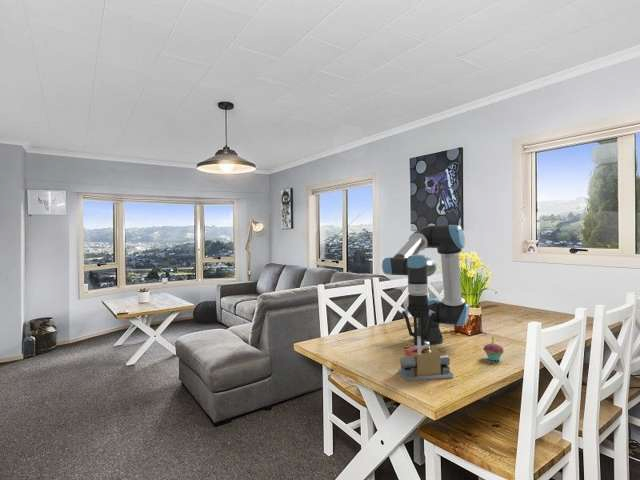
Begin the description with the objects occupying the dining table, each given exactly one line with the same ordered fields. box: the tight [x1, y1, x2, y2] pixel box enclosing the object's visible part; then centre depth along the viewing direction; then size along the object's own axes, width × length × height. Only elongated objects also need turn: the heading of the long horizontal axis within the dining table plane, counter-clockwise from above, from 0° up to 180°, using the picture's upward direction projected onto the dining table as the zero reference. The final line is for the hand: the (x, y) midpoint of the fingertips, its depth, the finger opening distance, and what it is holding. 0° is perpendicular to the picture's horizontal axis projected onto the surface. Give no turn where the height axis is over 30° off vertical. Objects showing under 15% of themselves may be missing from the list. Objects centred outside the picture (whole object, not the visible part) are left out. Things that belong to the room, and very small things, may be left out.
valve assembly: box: [397, 345, 454, 382], centre depth 152 cm, size 20×10×11 cm, turn 98°
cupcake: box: [483, 334, 505, 362], centre depth 169 cm, size 9×8×12 cm
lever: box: [404, 341, 431, 357], centre depth 147 cm, size 16×4×3 cm, turn 136°
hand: (419, 353), depth 143 cm, fingers closed
